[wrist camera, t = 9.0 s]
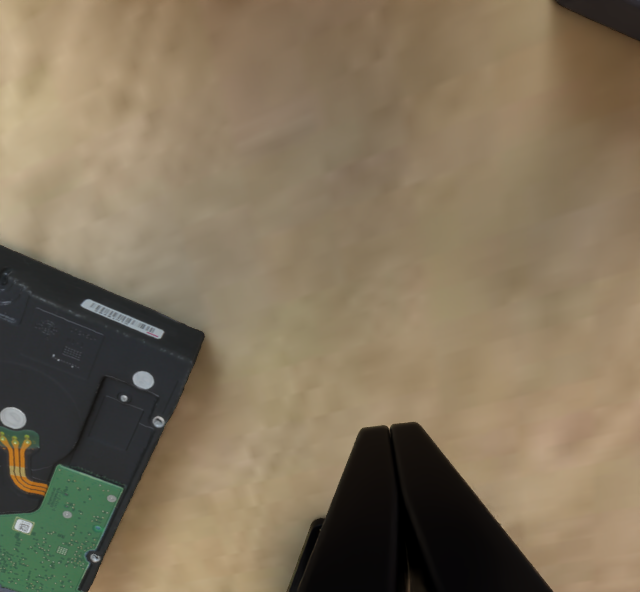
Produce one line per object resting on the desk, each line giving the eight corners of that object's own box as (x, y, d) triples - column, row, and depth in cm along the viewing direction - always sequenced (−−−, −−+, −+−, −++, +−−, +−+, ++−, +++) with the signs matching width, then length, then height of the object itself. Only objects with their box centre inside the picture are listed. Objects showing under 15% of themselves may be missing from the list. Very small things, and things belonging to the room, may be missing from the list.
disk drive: (-60, 211, 20) (-126, 503, 25) (-116, 234, 18) (-176, 553, 23) (211, 324, 22) (98, 574, 27) (197, 360, 19) (75, 629, 25)
